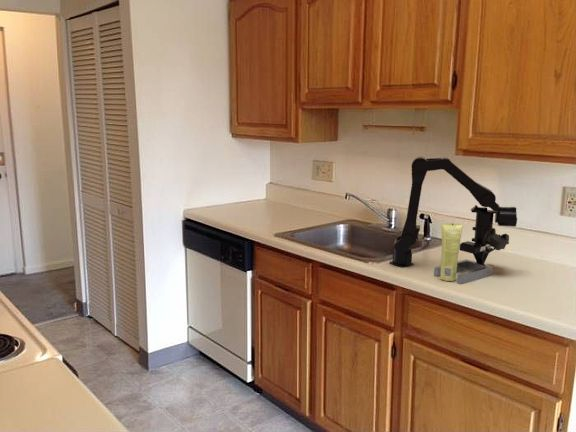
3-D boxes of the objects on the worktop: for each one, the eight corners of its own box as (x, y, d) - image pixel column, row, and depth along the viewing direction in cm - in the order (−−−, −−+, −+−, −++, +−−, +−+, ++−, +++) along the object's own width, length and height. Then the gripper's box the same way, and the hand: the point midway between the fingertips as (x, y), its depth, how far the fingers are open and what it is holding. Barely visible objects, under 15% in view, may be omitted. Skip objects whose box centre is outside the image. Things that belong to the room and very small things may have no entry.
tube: (445, 275, 183) (449, 220, 179) (459, 279, 179) (463, 222, 176) (437, 279, 179) (441, 222, 175) (451, 282, 175) (455, 225, 171)
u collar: (433, 275, 183) (434, 267, 182) (465, 267, 193) (466, 259, 192) (460, 284, 174) (461, 275, 173) (492, 275, 184) (493, 266, 183)
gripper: (488, 233, 174) (484, 278, 177) (520, 225, 185) (516, 268, 188) (459, 226, 183) (456, 270, 186) (492, 220, 194) (488, 261, 197)
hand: (480, 267), depth 189 cm, fingers closed
